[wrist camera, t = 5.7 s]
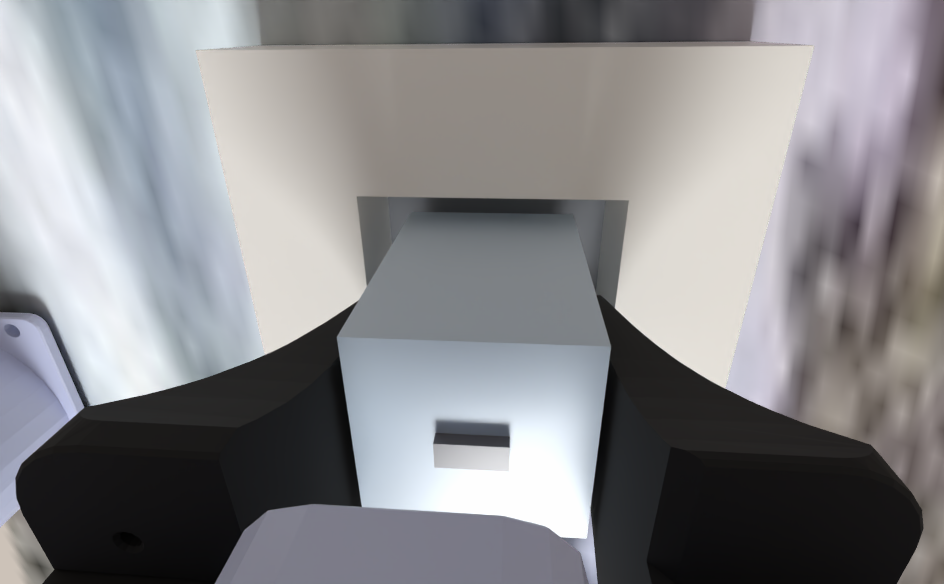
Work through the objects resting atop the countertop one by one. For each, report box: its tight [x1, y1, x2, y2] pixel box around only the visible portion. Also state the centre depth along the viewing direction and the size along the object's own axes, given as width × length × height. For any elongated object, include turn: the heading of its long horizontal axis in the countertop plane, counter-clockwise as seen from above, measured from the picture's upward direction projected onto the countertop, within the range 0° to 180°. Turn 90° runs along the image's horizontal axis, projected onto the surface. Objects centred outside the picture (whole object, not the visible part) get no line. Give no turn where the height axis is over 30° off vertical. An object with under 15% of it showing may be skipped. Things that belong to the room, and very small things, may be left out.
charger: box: [337, 212, 611, 539], centre depth 11 cm, size 4×4×6 cm
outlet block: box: [196, 41, 814, 388], centre depth 14 cm, size 12×12×3 cm
